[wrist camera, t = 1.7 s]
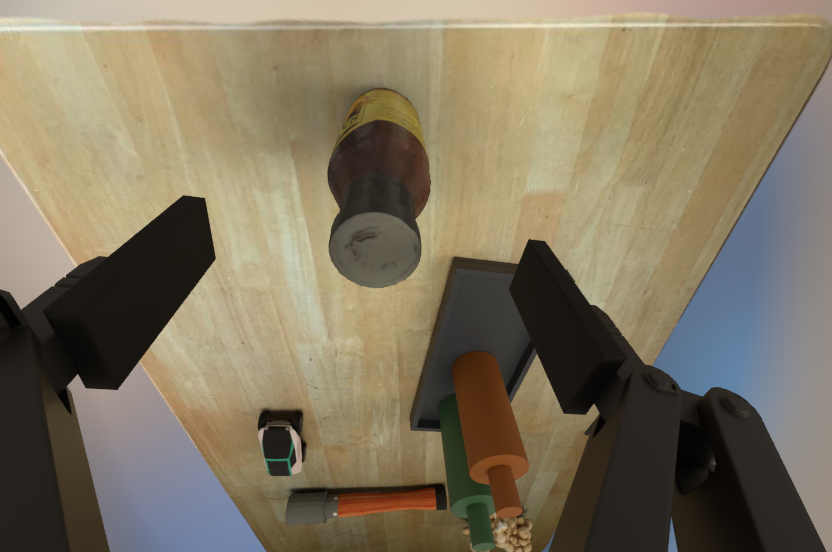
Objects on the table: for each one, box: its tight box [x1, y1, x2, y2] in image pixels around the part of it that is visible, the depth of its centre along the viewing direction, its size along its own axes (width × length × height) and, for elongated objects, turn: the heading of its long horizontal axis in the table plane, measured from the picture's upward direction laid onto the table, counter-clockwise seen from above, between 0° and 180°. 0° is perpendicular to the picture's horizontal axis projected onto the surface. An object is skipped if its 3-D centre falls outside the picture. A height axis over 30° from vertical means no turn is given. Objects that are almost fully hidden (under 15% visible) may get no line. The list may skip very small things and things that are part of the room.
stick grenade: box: [286, 486, 447, 525], centre depth 68 cm, size 5×5×30 cm
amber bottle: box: [452, 351, 529, 518], centre depth 42 cm, size 6×6×18 cm
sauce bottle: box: [328, 88, 431, 288], centre depth 23 cm, size 7×6×20 cm
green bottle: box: [438, 394, 496, 551], centre depth 47 cm, size 6×6×18 cm
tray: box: [410, 257, 575, 432], centre depth 48 cm, size 31×14×2 cm, turn 170°
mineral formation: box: [463, 513, 532, 552], centre depth 78 cm, size 8×13×15 cm
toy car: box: [258, 411, 306, 476], centre depth 55 cm, size 6×12×5 cm, turn 173°
